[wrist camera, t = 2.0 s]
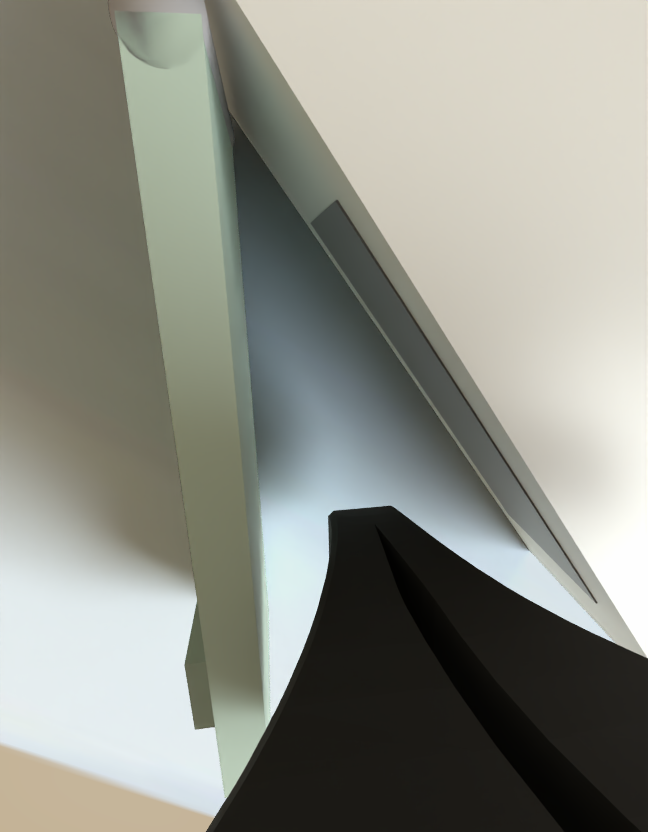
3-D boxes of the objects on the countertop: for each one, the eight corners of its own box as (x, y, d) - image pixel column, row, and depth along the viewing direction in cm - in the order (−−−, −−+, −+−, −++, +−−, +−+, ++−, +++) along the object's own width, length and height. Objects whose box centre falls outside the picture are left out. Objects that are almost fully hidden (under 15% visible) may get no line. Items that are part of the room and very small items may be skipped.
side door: (232, 109, 8) (201, -45, 4) (270, 608, 12) (274, 790, 8) (150, 107, 8) (35, -54, 4) (215, 614, 12) (189, 803, 8)
